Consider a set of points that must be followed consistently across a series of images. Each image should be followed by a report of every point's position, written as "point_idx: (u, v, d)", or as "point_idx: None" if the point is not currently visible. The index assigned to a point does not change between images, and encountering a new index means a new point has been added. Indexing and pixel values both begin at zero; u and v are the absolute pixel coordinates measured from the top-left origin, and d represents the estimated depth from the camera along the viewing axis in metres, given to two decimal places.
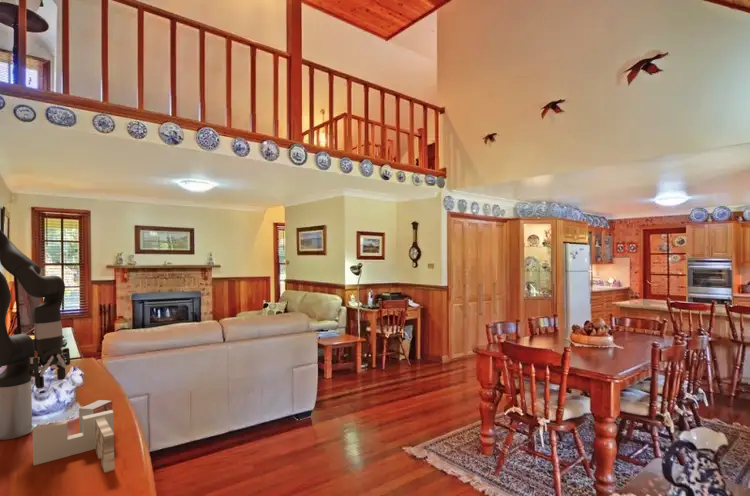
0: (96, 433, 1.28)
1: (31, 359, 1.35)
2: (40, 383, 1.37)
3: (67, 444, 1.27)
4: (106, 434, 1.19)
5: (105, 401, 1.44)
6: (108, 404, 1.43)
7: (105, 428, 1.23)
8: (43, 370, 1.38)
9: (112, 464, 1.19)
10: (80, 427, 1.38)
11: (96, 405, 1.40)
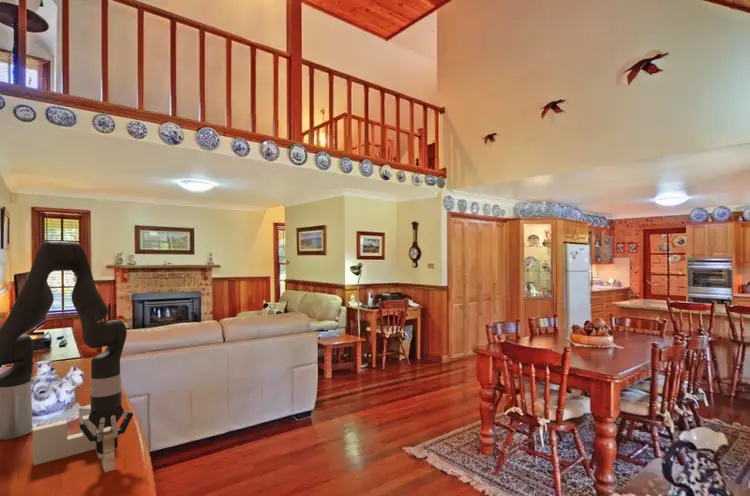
0: None
1: None
2: None
3: (67, 444, 1.27)
4: (106, 434, 1.19)
5: None
6: None
7: (105, 428, 1.23)
8: None
9: (112, 464, 1.19)
10: None
11: None
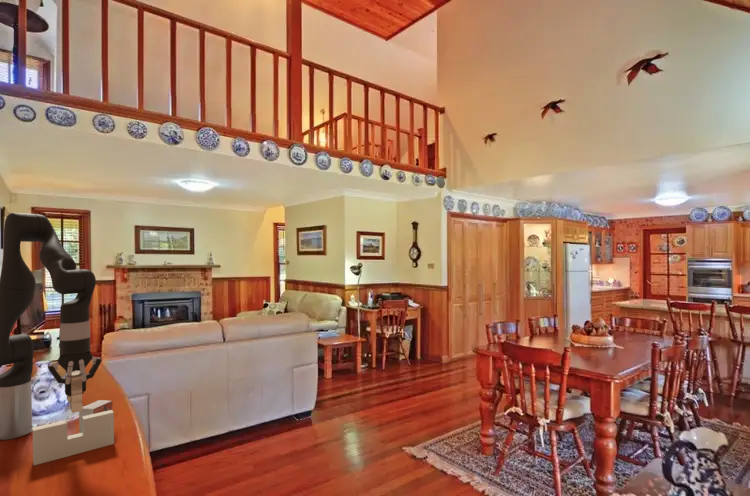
0: None
1: (100, 360, 1.31)
2: None
3: (67, 444, 1.27)
4: (74, 377, 1.24)
5: (105, 401, 1.44)
6: (108, 404, 1.43)
7: (74, 372, 1.28)
8: None
9: (80, 405, 1.24)
10: (80, 427, 1.38)
11: (96, 405, 1.40)
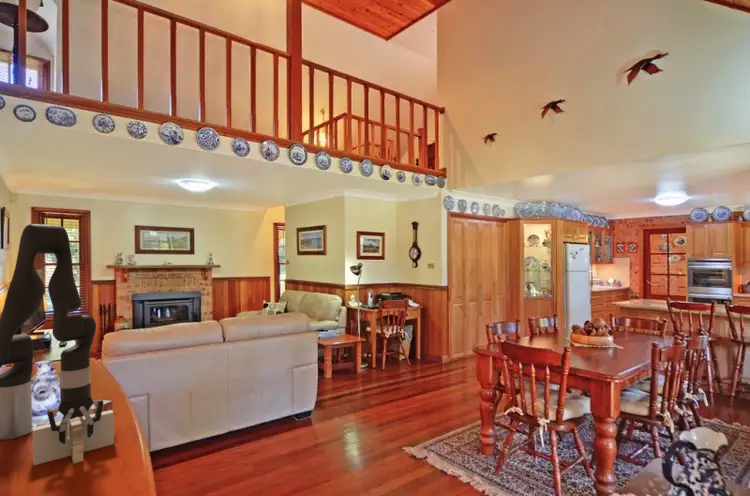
0: (68, 426, 1.33)
1: (102, 401, 1.31)
2: None
3: (67, 444, 1.27)
4: (75, 427, 1.24)
5: (105, 401, 1.44)
6: (108, 404, 1.43)
7: (75, 421, 1.28)
8: None
9: (81, 455, 1.24)
10: None
11: None
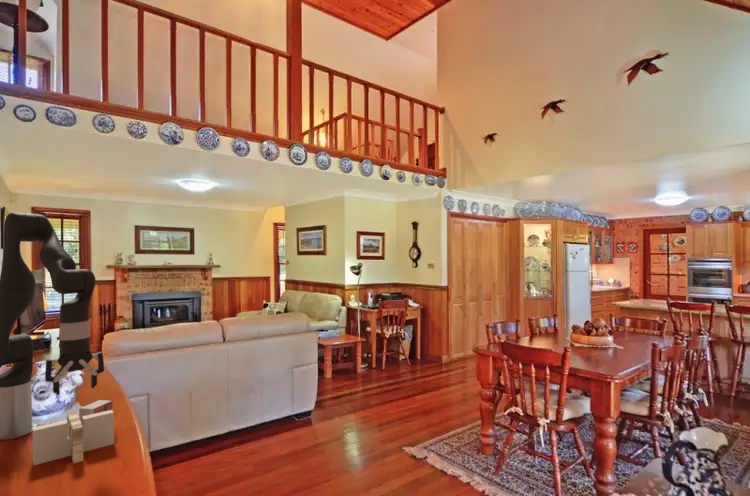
0: (68, 426, 1.33)
1: None
2: None
3: (67, 444, 1.27)
4: (75, 427, 1.24)
5: (105, 401, 1.44)
6: (108, 404, 1.43)
7: (75, 421, 1.28)
8: None
9: (81, 455, 1.24)
10: None
11: (96, 405, 1.40)
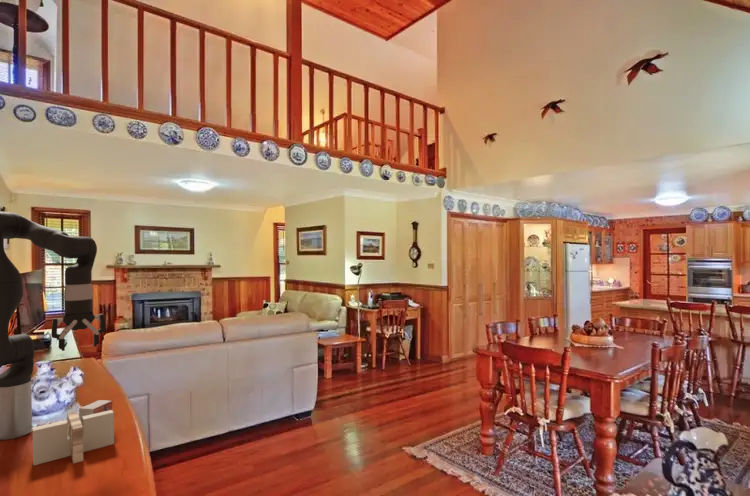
0: (68, 426, 1.33)
1: (103, 315, 1.41)
2: None
3: (67, 444, 1.27)
4: (75, 427, 1.24)
5: (105, 401, 1.44)
6: (108, 404, 1.43)
7: (75, 421, 1.28)
8: None
9: (81, 455, 1.24)
10: None
11: (96, 405, 1.40)
